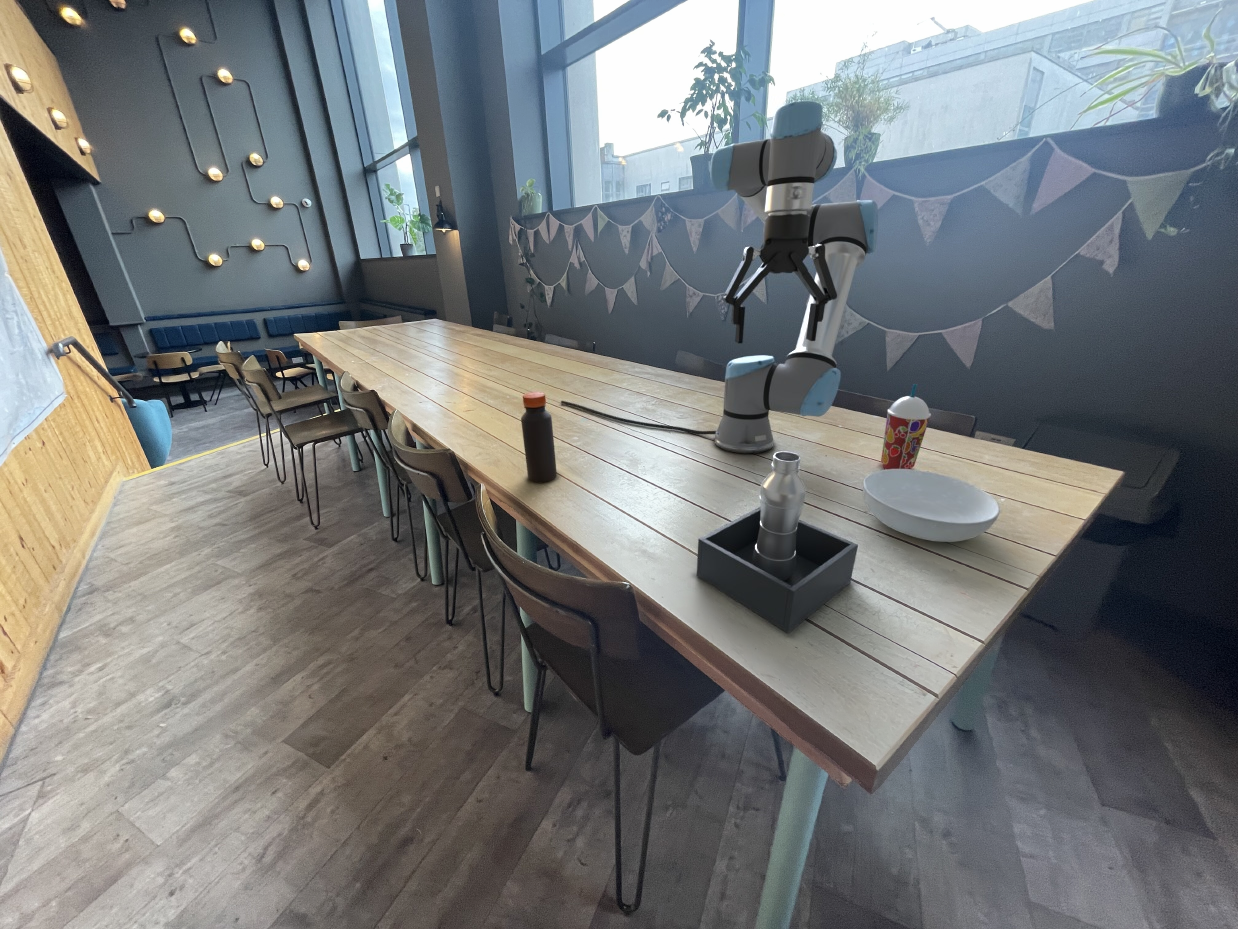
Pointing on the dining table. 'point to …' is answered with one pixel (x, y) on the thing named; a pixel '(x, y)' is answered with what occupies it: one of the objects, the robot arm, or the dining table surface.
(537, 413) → the vinegar
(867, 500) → the serving bowl
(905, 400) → the smoothie
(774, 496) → the silver metal bottle
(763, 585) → the bin
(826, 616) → the dining table surface
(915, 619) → the dining table surface
